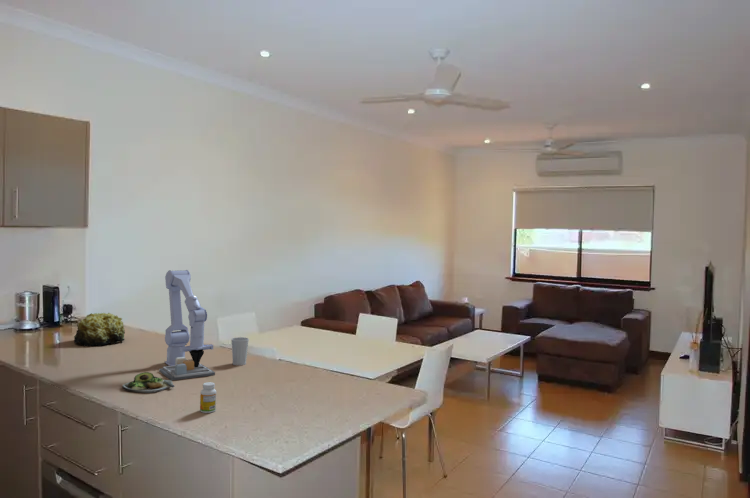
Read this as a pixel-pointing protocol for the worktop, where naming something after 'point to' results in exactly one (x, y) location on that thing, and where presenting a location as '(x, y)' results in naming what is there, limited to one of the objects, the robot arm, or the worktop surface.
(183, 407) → the worktop surface
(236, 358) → the cup
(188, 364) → the slider orange
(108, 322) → the mossy green rock
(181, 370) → the slider blue
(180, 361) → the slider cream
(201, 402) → the supplement bottle
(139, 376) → the salad plate
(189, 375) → the panel
